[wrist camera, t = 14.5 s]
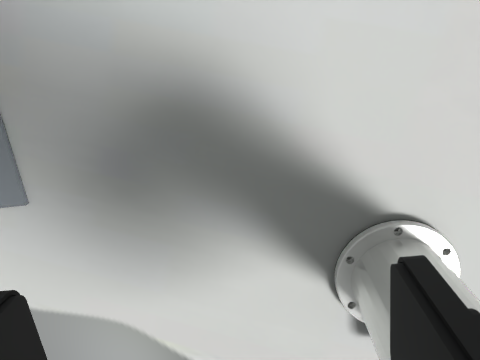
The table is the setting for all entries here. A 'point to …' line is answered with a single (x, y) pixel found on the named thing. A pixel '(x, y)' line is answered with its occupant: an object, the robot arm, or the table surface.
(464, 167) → the table surface
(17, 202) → the mat
